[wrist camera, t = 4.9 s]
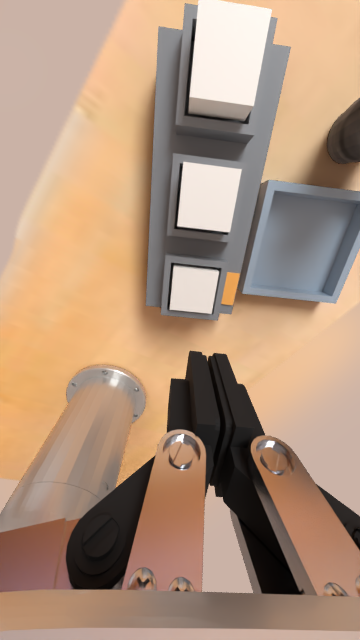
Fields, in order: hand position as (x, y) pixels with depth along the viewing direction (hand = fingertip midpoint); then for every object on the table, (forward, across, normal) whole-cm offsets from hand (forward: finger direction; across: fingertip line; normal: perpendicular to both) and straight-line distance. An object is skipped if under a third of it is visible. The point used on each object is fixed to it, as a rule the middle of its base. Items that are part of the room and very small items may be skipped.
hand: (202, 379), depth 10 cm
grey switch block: (+19, 0, -9) cm, 21 cm away
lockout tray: (+19, -12, -6) cm, 23 cm away
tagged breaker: (+15, 0, -1) cm, 15 cm away
